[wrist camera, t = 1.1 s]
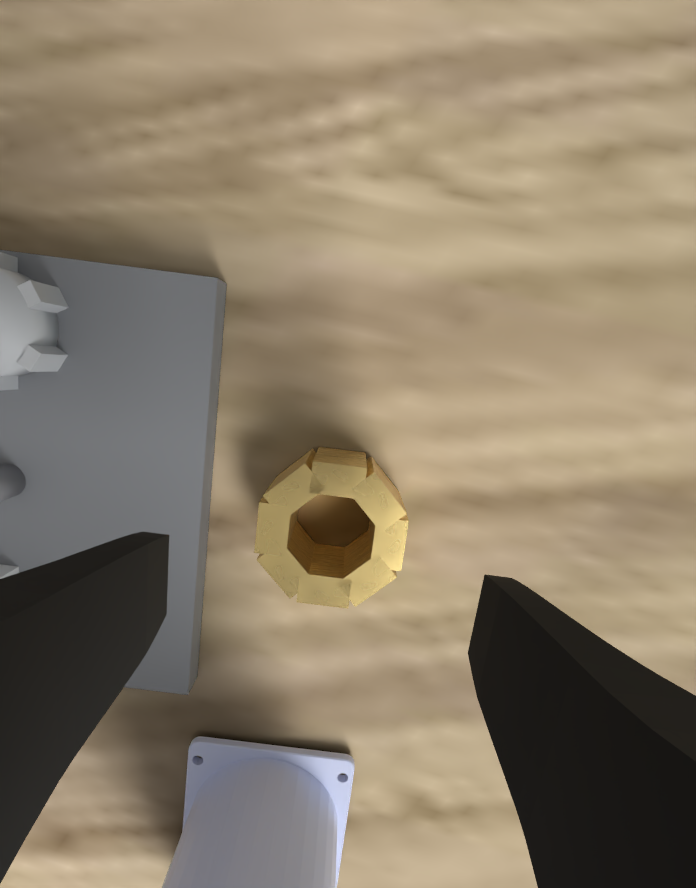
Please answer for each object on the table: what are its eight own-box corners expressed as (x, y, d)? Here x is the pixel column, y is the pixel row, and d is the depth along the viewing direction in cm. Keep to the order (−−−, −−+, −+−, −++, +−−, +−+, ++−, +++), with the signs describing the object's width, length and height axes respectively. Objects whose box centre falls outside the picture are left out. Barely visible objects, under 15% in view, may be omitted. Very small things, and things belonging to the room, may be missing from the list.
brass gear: (388, 577, 20) (394, 613, 17) (265, 562, 20) (250, 596, 17) (406, 457, 19) (416, 474, 16) (277, 441, 19) (263, 455, 16)
